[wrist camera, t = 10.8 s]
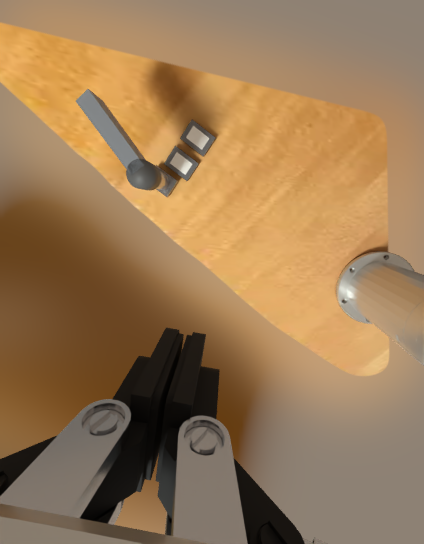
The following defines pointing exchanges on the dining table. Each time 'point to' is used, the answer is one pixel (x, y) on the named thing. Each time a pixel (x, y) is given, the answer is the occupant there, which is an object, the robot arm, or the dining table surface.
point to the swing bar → (120, 143)
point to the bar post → (166, 183)
